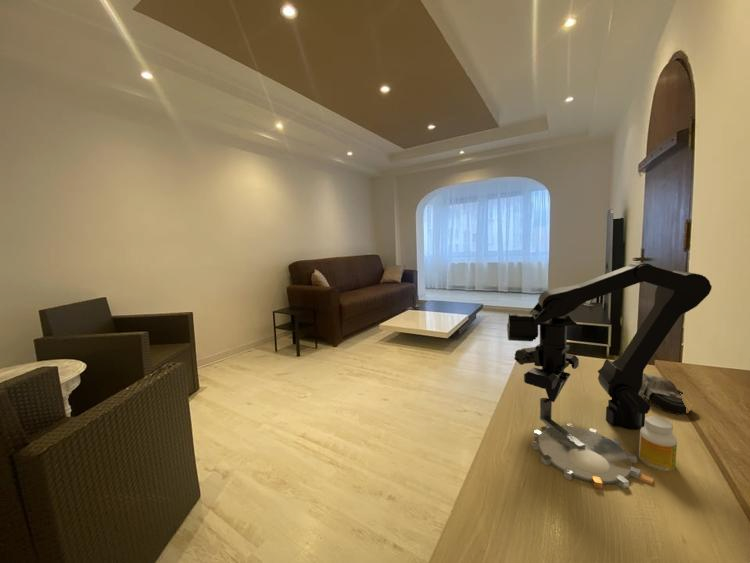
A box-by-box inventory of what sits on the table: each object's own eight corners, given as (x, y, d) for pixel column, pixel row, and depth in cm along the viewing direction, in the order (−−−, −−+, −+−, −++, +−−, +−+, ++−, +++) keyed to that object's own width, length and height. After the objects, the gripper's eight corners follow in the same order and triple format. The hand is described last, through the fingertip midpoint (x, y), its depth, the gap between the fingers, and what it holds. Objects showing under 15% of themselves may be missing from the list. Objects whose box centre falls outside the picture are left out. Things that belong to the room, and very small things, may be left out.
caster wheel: (692, 425, 78) (643, 413, 81) (674, 395, 87) (630, 385, 91) (703, 404, 75) (651, 393, 79) (682, 376, 85) (637, 367, 88)
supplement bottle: (678, 481, 58) (682, 433, 57) (641, 471, 61) (643, 425, 60) (670, 462, 63) (673, 418, 61) (636, 454, 65) (638, 411, 64)
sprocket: (594, 422, 75) (595, 396, 74) (666, 489, 55) (668, 456, 54) (516, 422, 77) (516, 398, 76) (557, 488, 56) (558, 456, 56)
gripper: (535, 327, 89) (535, 379, 91) (502, 344, 77) (503, 403, 79) (580, 334, 80) (578, 391, 82) (551, 355, 68) (550, 421, 70)
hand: (552, 401), depth 79 cm, fingers closed
